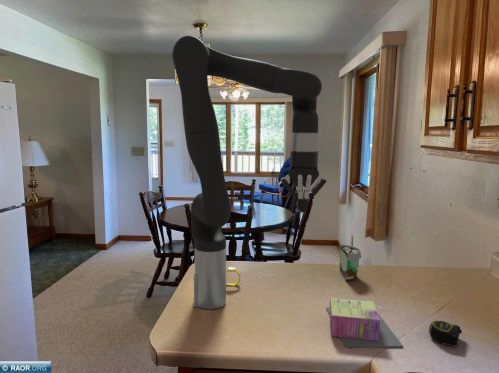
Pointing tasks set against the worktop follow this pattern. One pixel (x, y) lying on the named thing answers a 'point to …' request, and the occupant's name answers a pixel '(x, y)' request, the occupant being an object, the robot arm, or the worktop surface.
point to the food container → (349, 262)
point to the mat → (385, 340)
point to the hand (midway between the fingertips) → (302, 211)
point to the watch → (233, 271)
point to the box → (354, 319)
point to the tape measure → (444, 332)
